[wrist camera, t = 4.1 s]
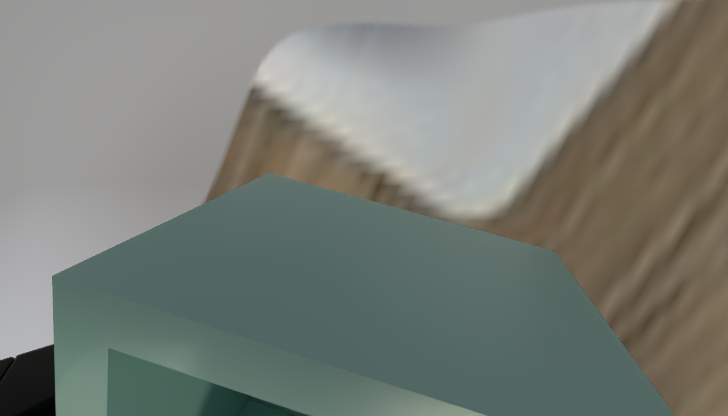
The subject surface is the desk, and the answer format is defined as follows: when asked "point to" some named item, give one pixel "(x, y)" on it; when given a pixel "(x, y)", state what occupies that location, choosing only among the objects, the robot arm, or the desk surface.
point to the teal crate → (332, 318)
